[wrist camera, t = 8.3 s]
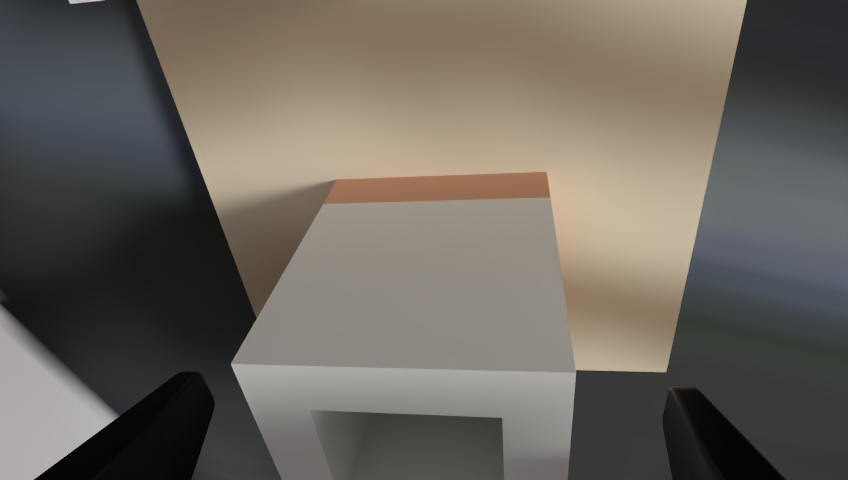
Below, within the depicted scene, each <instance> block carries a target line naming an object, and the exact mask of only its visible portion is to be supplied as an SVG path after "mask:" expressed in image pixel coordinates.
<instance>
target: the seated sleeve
mask: <svg viewBox="0 0 848 480" xmlns="http://www.w3.org/2000/svg"><path fill="white" fill-rule="evenodd" d="M93 1H103V0H69V3H70V4H74V3H84V2H93Z"/></svg>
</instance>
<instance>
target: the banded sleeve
mask: <svg viewBox="0 0 848 480" xmlns="http://www.w3.org/2000/svg"><path fill="white" fill-rule="evenodd" d="M231 366H232V368H233V370H234V373H235V375H236V377H237V380H238V382H239V384H240V386H241V389H242V391H243V393H244V395H245V398H246V400H247V402H248V404H249V407H250V409H251V411H252V413H253V416H254V418H255V420H256V422H257V425H258V427H259V429H260V432H261V434H262V436H263V438H264V441H265V443H266V445H267V447H268V450H269V452H270V454H271V456H272V459H273V461H274V463H275V465H276V468H277V470H278V472H279V474H280V477H281V479H282V480H568V467H569V455H570V442H571V430H572V417H573V405H574V392H575V380H576V369H575V362H574V356H573V349H572V342H571V335H570V328H569V321H568V314H567V307H566V301H565V294H564V287H563V280H562V273H561V266H560V259H559V253H558V246H557V239H556V232H555V225H554V218H553V211H552V205H551V198H550V191H549V184H548V177H547V172H526V173H499V174H472V175H445V176H418V177H391V178H364V179H337V181H336V183H335V184H334V186H333V188H332V190H331V191H330V193H329V195H328V196H327V198H326V200H325V202H324V203H323V205H322V207H321V209H320V210H319V212H318V214H317V216H316V217H315V219H314V221H313V222H312V224H311V226H310V228H309V229H308V231H307V233H306V235H305V236H304V238H303V240H302V241H301V243H300V245H299V247H298V248H297V250H296V252H295V254H294V255H293V257H292V259H291V260H290V262H289V264H288V266H287V267H286V269H285V271H284V273H283V274H282V276H281V278H280V280H279V281H278V283H277V285H276V286H275V288H274V290H273V292H272V293H271V295H270V297H269V299H268V300H267V302H266V304H265V305H264V307H263V309H262V311H261V312H260V314H259V316H258V318H257V319H256V321H255V323H254V324H253V326H252V328H251V330H250V331H249V333H248V335H247V337H246V338H245V340H244V342H243V343H242V345H241V347H240V349H239V350H238V352H237V354H236V356H235V357H234V359H233V361H232V363H231Z"/></svg>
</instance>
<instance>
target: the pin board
mask: <svg viewBox="0 0 848 480" xmlns="http://www.w3.org/2000/svg"><path fill="white" fill-rule="evenodd" d="M136 1H137V3H138V6H139V9H140V11H141V14H142V16H143V19H144V22H145V24H146V27H147V30H148V32H149V35H150V38H151V40H152V43H153V46H154V48H155V51H156V54H157V56H158V59H159V62H160V64H161V67H162V69H163V72H164V75H165V77H166V80H167V83H168V85H169V88H170V91H171V93H172V96H173V99H174V101H175V104H176V107H177V109H178V112H179V114H180V117H181V120H182V122H183V125H184V128H185V130H186V133H187V136H188V138H189V141H190V144H191V146H192V149H193V152H194V154H195V157H196V160H197V162H198V165H199V167H200V170H201V173H202V175H203V178H204V181H205V183H206V186H207V189H208V191H209V194H210V197H211V199H212V202H213V205H214V207H215V210H216V212H217V215H218V218H219V220H220V223H221V226H222V228H223V231H224V234H225V236H226V239H227V242H228V244H229V247H230V250H231V252H232V255H233V258H234V260H235V263H236V265H237V268H238V271H239V273H240V276H241V279H242V281H243V284H244V287H245V289H246V292H247V295H248V297H249V300H250V303H251V305H252V308H253V310H254V313H255V316H256V318H258V316H259V314H260V312H261V311H262V309H263V307H264V305H265V304H266V302H267V300H268V299H269V297H270V295H271V293H272V292H273V290H274V288H275V286H276V285H277V283H278V281H279V280H280V278H281V276H282V274H283V273H284V271H285V269H286V267H287V266H288V264H289V262H290V260H291V259H292V257H293V255H294V254H295V252H296V250H297V248H298V247H299V245H300V243H301V241H302V240H303V238H304V236H305V235H306V233H307V231H308V229H309V228H310V226H311V224H312V222H313V221H314V219H315V217H316V216H317V214H318V212H319V210H320V209H321V207H322V205H323V203H324V202H325V200H326V198H327V196H328V195H329V193H330V191H331V190H332V188H333V186H334V184H335V183H336V181H337V179H364V178H391V177H418V176H445V175H472V174H499V173H526V172H547V177H548V184H549V191H550V198H551V205H552V211H553V218H554V225H555V232H556V239H557V246H558V253H559V259H560V266H561V273H562V280H563V287H564V294H565V301H566V307H567V314H568V321H569V328H570V335H571V342H572V349H573V356H574V362H575V369H576V370H598V371H639V372H666V371H667V366H668V361H669V357H670V352H671V347H672V343H673V338H674V334H675V329H676V324H677V320H678V315H679V311H680V306H681V301H682V297H683V292H684V288H685V283H686V278H687V274H688V269H689V265H690V260H691V255H692V251H693V246H694V241H695V237H696V232H697V228H698V223H699V218H700V214H701V209H702V205H703V200H704V195H705V191H706V186H707V182H708V177H709V172H710V168H711V163H712V158H713V154H714V149H715V145H716V140H717V135H718V131H719V126H720V122H721V117H722V112H723V108H724V103H725V99H726V94H727V89H728V85H729V80H730V76H731V71H732V66H733V62H734V57H735V52H736V48H737V43H738V39H739V34H740V29H741V25H742V20H743V16H744V11H745V6H746V2H747V0H136Z"/></svg>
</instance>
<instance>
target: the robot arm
mask: <svg viewBox="0 0 848 480" xmlns="http://www.w3.org/2000/svg"><path fill="white" fill-rule="evenodd" d="M213 411H214V397H213V395H212V393H211V391H210V389H209V387H208V385H207V383H206V381H205V379H204V377H203V375H202V374H200V373H198V372H180V373H178V374H176V375H175V376H174V377H172V378H171V379H169V380H168V381H167V382H165V383H164V384H163V385H161V386H160V387H159V388H157V389H156V390H155V391H153V392H152V393H151V394H149V395H148V396H147V397H145V398H144V399H142V400H141V401H140V402H138V403H137V404H136V405H134V406H133V407H132V408H130V409H129V410H128V411H126V412H125V413H124V414H122V415H121V416H119V417H118V418H117V419H115V420H114V421H113V422H111V423H110V424H109V425H107V426H106V427H105V428H103V429H102V430H101V431H99V432H98V433H97V434H95V435H94V436H93V437H91V438H90V439H88V440H87V441H86V442H84V443H83V444H82V445H80V446H79V447H78V448H76V449H75V450H74V451H72V452H71V453H70V454H68V455H67V456H65V457H64V458H63V459H61V460H60V461H59V462H57V463H56V464H55V465H53V466H52V467H51V468H49V469H48V470H46V471H45V472H44V473H42V474H41V475H40V476H38V477H37V478H36V479H34V480H191V478H192V476H193V473H194V470H195V467H196V464H197V461H198V458H199V454H200V451H201V448H202V445H203V442H204V439H205V436H206V433H207V430H208V427H209V424H210V420H211V417H212V414H213ZM663 430H664V435H665V441H666V446H667V452H668V457H669V463H670V468H671V473H672V479H673V480H786V479H785V478H784V477H783V476H782V475H781V474H780V473H779V472H778V471H777V470H776V469H775V468H774V467H773V465H772V464H771V463H770V462H769V461H768V460H767V459H766V458H765V457H764V456H763V455H762V454H761V453H760V452H759V451H758V450H757V449H756V448H755V447H754V446H753V445H752V444H751V443H750V442H749V441H748V440H747V439H746V438H745V437H744V436H743V435H742V434H741V433H740V432H739V430H738V429H737V428H736V427H735V426H734V425H733V424H732V423H731V422H730V421H729V420H728V419H727V418H726V417H725V416H724V415H723V414H722V413H721V412H720V411H719V410H718V409H717V408H716V407H715V406H714V405H713V404H712V403H711V402H710V401H709V400H708V399H707V398H706V396H705V395H704V394H703V393H702V392H701V391H700V390H698V389H697V388H695V387H691V386H672V387H671V388H670V389H669V392H668V396H667V400H666V405H665V409H664V413H663Z"/></svg>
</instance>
